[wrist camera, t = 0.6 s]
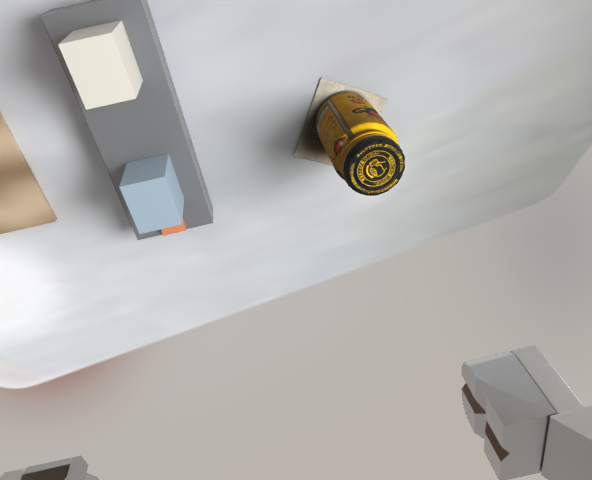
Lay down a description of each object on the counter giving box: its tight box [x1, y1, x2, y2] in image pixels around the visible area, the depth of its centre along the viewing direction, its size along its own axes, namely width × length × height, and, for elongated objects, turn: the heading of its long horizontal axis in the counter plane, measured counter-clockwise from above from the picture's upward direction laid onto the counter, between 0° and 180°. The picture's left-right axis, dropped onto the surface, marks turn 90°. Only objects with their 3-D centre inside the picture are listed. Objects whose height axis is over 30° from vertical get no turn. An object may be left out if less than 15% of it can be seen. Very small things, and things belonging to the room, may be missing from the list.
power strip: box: [41, 0, 213, 240], centre depth 47 cm, size 22×8×4 cm, turn 10°
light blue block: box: [119, 154, 184, 234], centre depth 48 cm, size 5×4×7 cm
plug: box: [58, 20, 143, 110], centre depth 41 cm, size 5×4×7 cm
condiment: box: [294, 78, 405, 196], centre depth 47 cm, size 7×8×12 cm
